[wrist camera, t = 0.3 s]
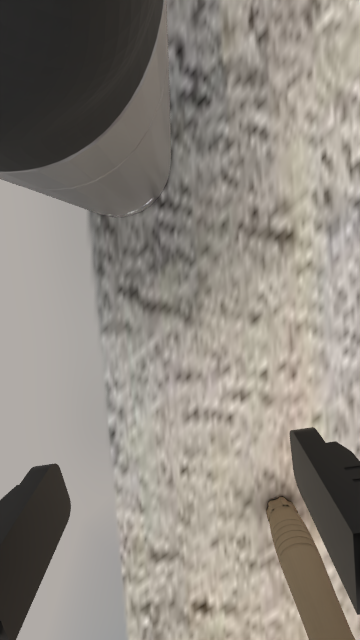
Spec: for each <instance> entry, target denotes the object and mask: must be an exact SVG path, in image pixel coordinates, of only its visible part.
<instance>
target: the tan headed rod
mask: <svg viewBox="0 0 360 640" xmlns="http://www.w3.org/2000/svg"><path fill="white" fill-rule="evenodd" d="M268 506H269V507H268V509H267V510H266V512H267V517H268V521H269V522H270V529H271V534H272V538H273V542H274V546H275V549H276V553H277V556H278V559H279V562H280V564H281V568H282V570H283V573H284V575H285V578H286V580H287V583H288V585H289V588H290V591H291V593H292V596H293V598H294V601H295V603H296V606H297V609H298V611H299V614H300V617H301V619H302V622H303V625H304V627H305V630H306V633H307V635H308V638H309V640H355V638H354V636H353V634H352V632H351V630H350V627H349V625H348V623H347V620H346V618H345V615H344V613H343V611H342V608H341V606H340V603H339V601H338V598H337V596H336V594H335V591H334V589H333V586H332V584H331V581H330V579H329V576H328V573H327V571H326V568H325V566H324V563H323V561H322V558H321V556H320V554H319V551H318V549H317V547H316V545H315V543H314V541H313V539H312V537H311V535H310V533H309V531H308V529H307V527H306V525H305V524H304V522H303V520H302V519H301V517H300V516H299V514H298V511H297V509H296V508H295V506H294V505H293V503H292V502H289V501H287V500H286V499H285V498H284V497H279V498H278V499H276V500H272V501H270V502H269V503H268Z"/></svg>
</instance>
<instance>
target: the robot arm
mask: <svg viewBox="0 0 360 640" xmlns="http://www.w3.org/2000/svg"><path fill="white" fill-rule="evenodd" d="M170 166H171V127H170V92H169V57H168V34H167V5H166V0H0V179H2V180H5V181H8V182H10V183H13V184H16V185H19V186H23V187H26V188H28V189H31V190H34V191H36V192H39V193H42V194H45V195H48V196H51V197H53V198H56V199H59V200H62V201H65V202H67V203H70V204H73V205H76V206H79V207H81V208H84V209H87V210H90V211H93V212H96V213H98V214H102V215H104V216H110V217H126V216H131V215H134V214H137V213H139V212H141V211H143V210H145V209H146V208H147V207H149V206H150V205H152V204H153V203H154V201H155V200H156V199H157V198H158V197H159V196H160V194H161V193H162V191H163V189H164V187H165V185H166V183H167V180H168V177H169V173H170ZM290 443H291V452H292V461H293V470H294V475H295V479H296V483H297V486H298V489H299V491H300V493H301V495H302V498H303V500H304V502H305V504H306V506H307V508H308V510H309V513H310V515H311V517H312V519H313V521H314V523H315V525H316V527H317V530H318V532H319V534H320V536H321V538H322V540H323V542H324V545H325V547H326V549H327V551H328V553H329V555H330V557H331V559H332V562H333V564H334V566H335V568H336V570H337V572H338V574H339V577H340V579H341V581H342V583H343V585H344V587H345V589H346V591H347V594H348V596H349V598H350V600H351V602H352V604H353V606H354V609H355V611H356V613H357V615H358V614H360V461H359V460H358V459H357V458H356V456H355V455H354V454H353V453H352V452H351V451H350V450H348V449H347V448H345V447H344V446H342V445H340V444H339V443H337V442H329V443H325V441H324V440H323V438H322V437H321V436H320V434H319V433H318V432H317V430H316V429H315V428H314V427H312V428H305V429H298V430H291V431H290ZM70 509H71V504H70V498H69V495H68V492H67V489H66V486H65V482H64V479H63V476H62V473H61V470H60V468H59V466H58V465H57V464H49V465H42V466H36V467H33V468H31V469H30V471H29V472H28V473H27V475H26V476H25V478H24V479H23V481H22V482H21V483H20V485H17V486H16V487H14V489H12V490H11V491H10V492H9V493H8V494H7V495H5V497H3V498H2V499H1V500H0V640H16V638H17V636H18V634H19V631H20V629H21V627H22V624H23V622H24V620H25V618H26V615H27V613H28V611H29V608H30V606H31V604H32V602H33V600H34V597H35V595H36V593H37V590H38V588H39V586H40V584H41V581H42V579H43V577H44V574H45V572H46V570H47V568H48V565H49V563H50V560H51V559H52V556H53V554H54V552H55V550H56V547H57V545H58V543H59V540H60V538H61V536H62V533H63V531H64V529H65V527H66V525H67V522H68V520H69V516H70Z"/></svg>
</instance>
